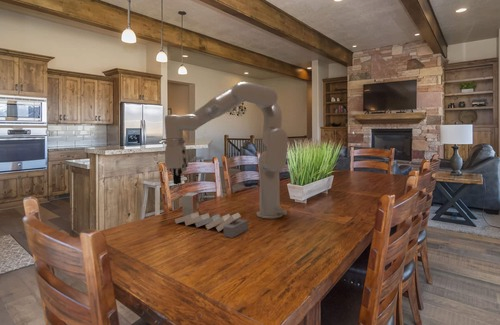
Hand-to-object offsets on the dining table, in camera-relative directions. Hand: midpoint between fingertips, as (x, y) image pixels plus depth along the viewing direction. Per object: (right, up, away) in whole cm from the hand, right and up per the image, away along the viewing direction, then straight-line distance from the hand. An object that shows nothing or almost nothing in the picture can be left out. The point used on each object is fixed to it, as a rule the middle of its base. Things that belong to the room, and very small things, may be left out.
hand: (177, 183), depth 139 cm
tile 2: (+6, -17, -2) cm, 18 cm away
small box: (+4, -17, +13) cm, 21 cm away
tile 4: (+16, -17, -8) cm, 25 cm away
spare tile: (+11, -17, -5) cm, 21 cm away
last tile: (+20, -18, -11) cm, 29 cm away
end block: (+27, -19, -14) cm, 36 cm away
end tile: (+1, -17, +1) cm, 17 cm away
